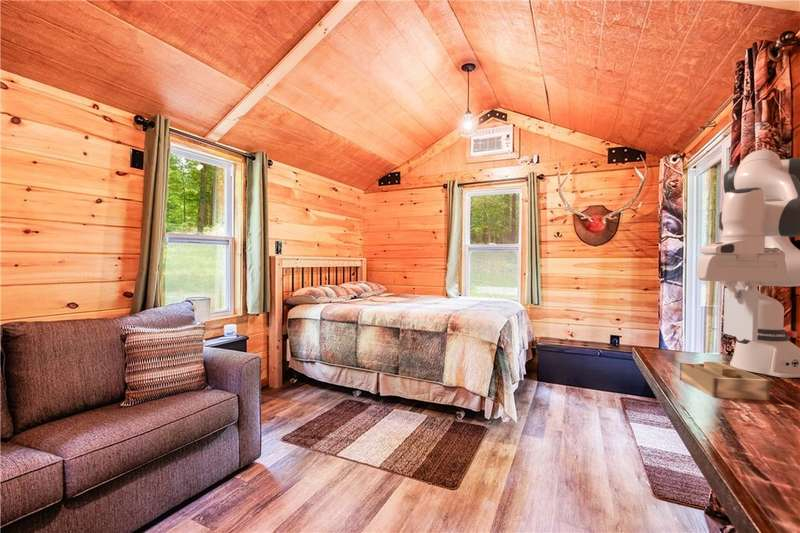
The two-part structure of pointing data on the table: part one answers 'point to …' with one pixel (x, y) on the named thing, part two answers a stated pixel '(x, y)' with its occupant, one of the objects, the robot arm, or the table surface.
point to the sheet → (741, 314)
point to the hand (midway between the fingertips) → (740, 298)
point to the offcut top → (721, 369)
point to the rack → (725, 383)
